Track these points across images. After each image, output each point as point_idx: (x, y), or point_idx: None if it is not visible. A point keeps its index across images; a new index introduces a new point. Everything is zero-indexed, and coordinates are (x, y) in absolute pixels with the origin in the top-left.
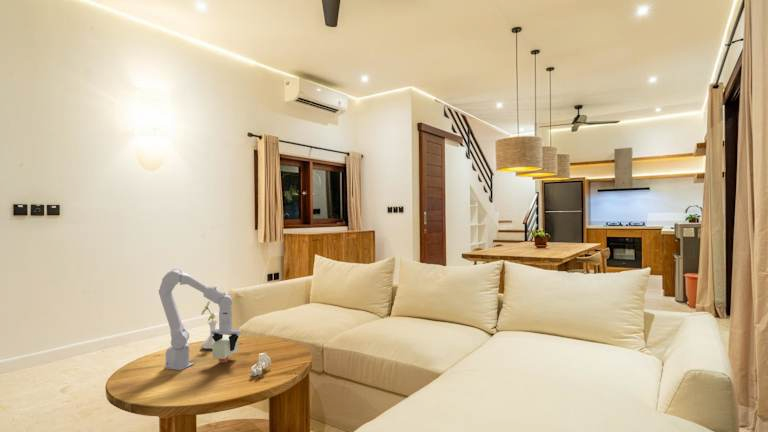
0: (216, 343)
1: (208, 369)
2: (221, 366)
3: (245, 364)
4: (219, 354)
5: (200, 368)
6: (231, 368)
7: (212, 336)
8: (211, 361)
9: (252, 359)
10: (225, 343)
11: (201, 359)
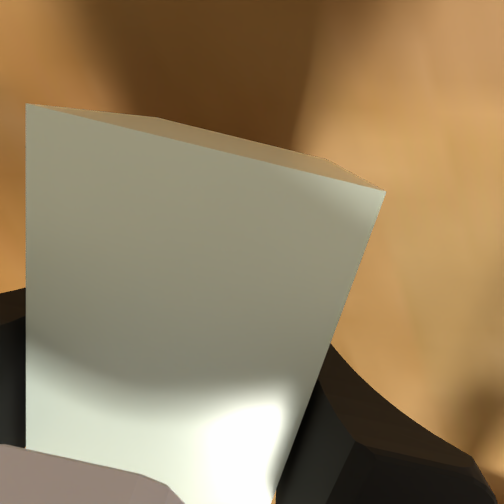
0: (273, 201)
1: (324, 27)
2: (214, 120)
3: (2, 165)
4: (219, 136)
5: (425, 67)
6: (82, 51)
7: (493, 494)
8: (363, 266)
9: (11, 286)
10: (31, 182)
11: (473, 321)
